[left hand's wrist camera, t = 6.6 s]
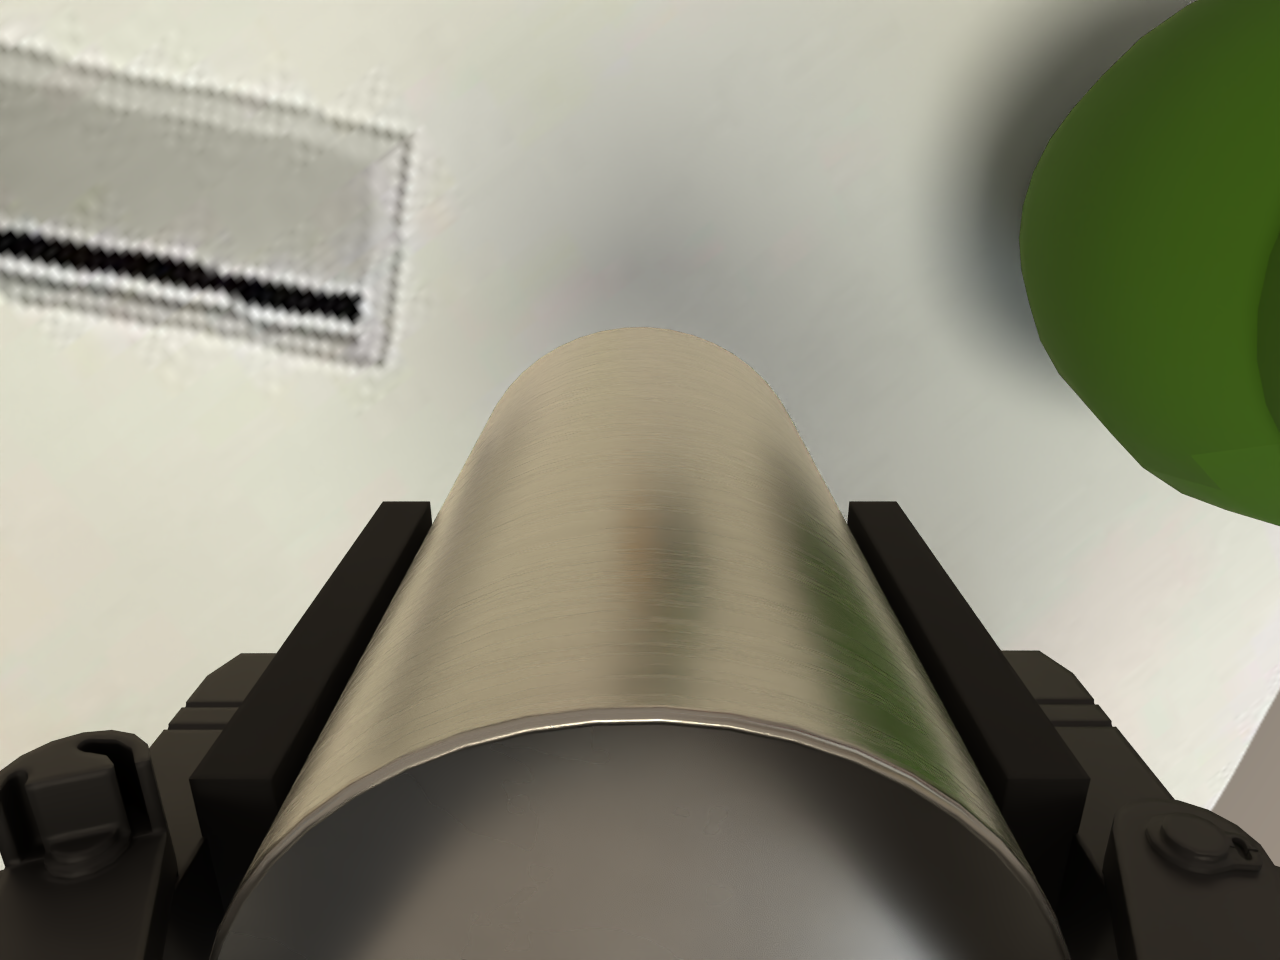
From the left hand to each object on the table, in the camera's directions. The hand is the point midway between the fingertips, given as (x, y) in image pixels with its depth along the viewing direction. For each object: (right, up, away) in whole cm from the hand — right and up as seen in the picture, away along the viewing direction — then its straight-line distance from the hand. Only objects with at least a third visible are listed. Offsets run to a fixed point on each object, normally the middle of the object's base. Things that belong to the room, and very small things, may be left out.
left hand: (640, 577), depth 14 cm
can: (0, +1, +4) cm, 4 cm away
